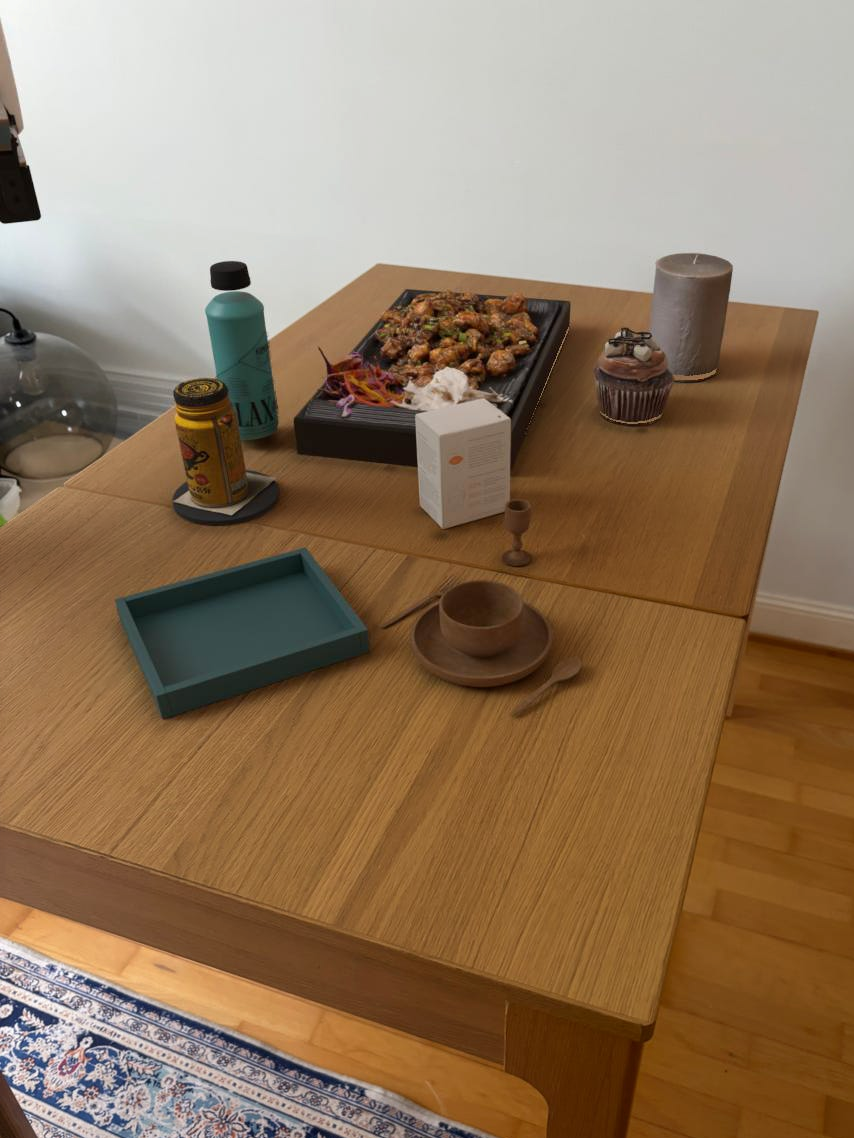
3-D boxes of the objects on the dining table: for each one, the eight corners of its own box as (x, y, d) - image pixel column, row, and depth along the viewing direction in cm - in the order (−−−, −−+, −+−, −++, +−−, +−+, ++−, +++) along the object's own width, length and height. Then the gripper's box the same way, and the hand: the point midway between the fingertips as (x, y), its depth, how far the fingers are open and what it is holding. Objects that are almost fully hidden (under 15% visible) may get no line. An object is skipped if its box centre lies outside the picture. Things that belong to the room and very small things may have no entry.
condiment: (172, 503, 101) (149, 393, 94) (221, 467, 108) (202, 362, 100) (231, 517, 99) (212, 406, 92) (277, 480, 105) (262, 373, 98)
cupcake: (664, 433, 116) (674, 351, 109) (583, 424, 118) (589, 342, 112) (674, 401, 123) (684, 322, 117) (598, 392, 125) (604, 314, 119)
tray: (162, 719, 76) (156, 696, 75) (120, 621, 86) (113, 599, 85) (370, 652, 83) (368, 629, 81) (308, 568, 93) (305, 546, 91)
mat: (189, 535, 97) (188, 530, 97) (161, 488, 105) (160, 483, 105) (294, 509, 102) (293, 504, 101) (260, 465, 109) (259, 460, 109)
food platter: (508, 476, 107) (510, 387, 101) (297, 453, 111) (286, 366, 105) (569, 331, 142) (573, 258, 136) (406, 318, 146) (402, 247, 140)
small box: (485, 488, 105) (485, 396, 99) (510, 511, 101) (513, 417, 95) (417, 506, 102) (413, 412, 96) (441, 531, 98) (438, 434, 92)
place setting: (358, 636, 84) (352, 580, 81) (510, 545, 96) (512, 492, 92) (510, 731, 75) (512, 671, 71) (659, 617, 87) (667, 561, 83)
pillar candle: (715, 356, 134) (732, 243, 125) (719, 385, 127) (738, 267, 118) (644, 353, 136) (656, 240, 126) (643, 381, 128) (656, 263, 119)
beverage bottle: (221, 453, 112) (189, 274, 99) (231, 427, 117) (202, 255, 105) (278, 452, 112) (254, 274, 100) (285, 426, 117) (263, 254, 105)
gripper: (-116, -46, 76) (-48, 189, 87) (-101, -33, 64) (-24, 238, 75) (-13, -47, 79) (41, 181, 90) (19, -34, 67) (78, 227, 78)
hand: (11, 207), depth 82 cm, fingers open, 9 cm apart
